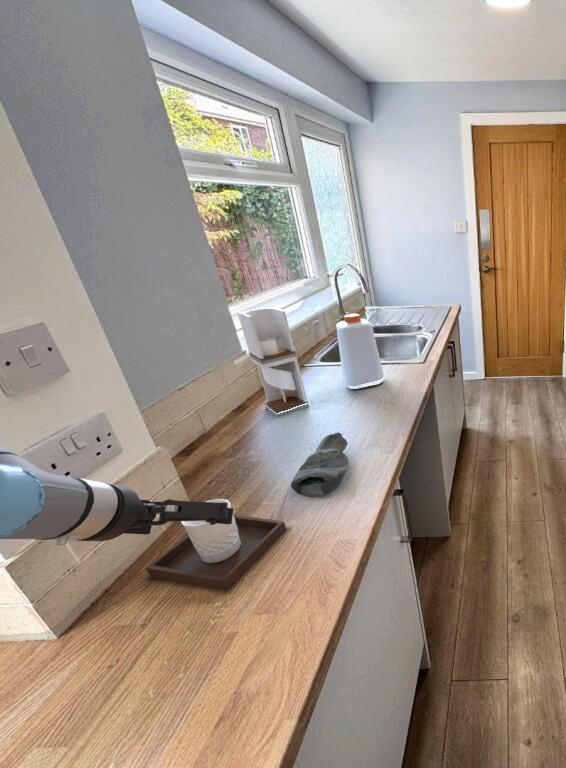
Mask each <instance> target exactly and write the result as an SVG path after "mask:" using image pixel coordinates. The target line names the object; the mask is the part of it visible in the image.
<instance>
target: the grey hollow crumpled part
mask: <svg viewBox="0 0 566 768" xmlns="http://www.w3.org/2000/svg"><path fill="white" fill-rule="evenodd" d="M347 446H348V441H347V440H346V438H345V437H343V435H342V433H340V432H335V433H330V434H328V435H326V436H324V437H323V438H322V439H321V441H320V442H319V444H318V446H317V448H316V449H315V451H314V452H313V453H312V454H310V455H309V456H308V457H307V458H306V460H304V462H303V464H302V465H301V466H300V467H299V469H298V470H297V472H296V473H295V475H294V477H293V479H292V481H291V483H290V487H291V490H293V491H294V492H295V493H296V494H298V495H301V496H302V497H307V498H308V497H309V498H313V497H314V498H315V497H324V496H327V495H330V494H331V493H333V492H334V491H336V490H337V489H338V488H339V486H340V485H341V483H342V481H343V479H344V476H345V474H346V472H347V470H348V468H349V457H348V456H347V454H346V453H344V451H345V450H346V448H347Z"/></svg>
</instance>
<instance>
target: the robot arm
mask: <svg viewBox="0 0 566 768" xmlns="http://www.w3.org/2000/svg"><path fill="white" fill-rule="evenodd" d="M233 514H234V508H232V507H231V508H227V503H225V502H222V503H216V502H206V501H192V500H191V501H187V500H176V499H171V498H169V499H168V498H167V499H165V500H164V501H150V500H149V499H140V496H139V495H138V494H137V493H136V491H134V490H133V489H131V488H129V487H126V486H121V485H116V484H111V483H105V482H102V481H98V480H91V479H86V478H82V477H81V478H79V477H72V476H66V475H61V474H55V473H52V472H51V473H50V472H48V471H44V470H43V469H41V468H40V467H38V466H36V465H34V464H33V463H32V462H30V461H29V460H27V459H26V458H24V457H22V456H20V455H18V454H16V453H15V452H14V451H12V450H10V449H9V448H8V447H7V446H5V445H3V444H2V443H1V442H0V540H37V541H38V540H40V541H51V540H53V541H54V540H55V544H56V546H65V545H66V544H68V541H78V542H105V541H111V540H114V539H116V538H118V537H120V536H121V535H123V534H126V535H150V534H151V531H152V527H153V526H163V525H166V524H167V523H171V522H173V523H174V522H181V521H206V522H209V523H210V525H215V524H216V523H219V524H232V516H233ZM157 515H159V517H158V520H155V519H156V517H157Z"/></svg>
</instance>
